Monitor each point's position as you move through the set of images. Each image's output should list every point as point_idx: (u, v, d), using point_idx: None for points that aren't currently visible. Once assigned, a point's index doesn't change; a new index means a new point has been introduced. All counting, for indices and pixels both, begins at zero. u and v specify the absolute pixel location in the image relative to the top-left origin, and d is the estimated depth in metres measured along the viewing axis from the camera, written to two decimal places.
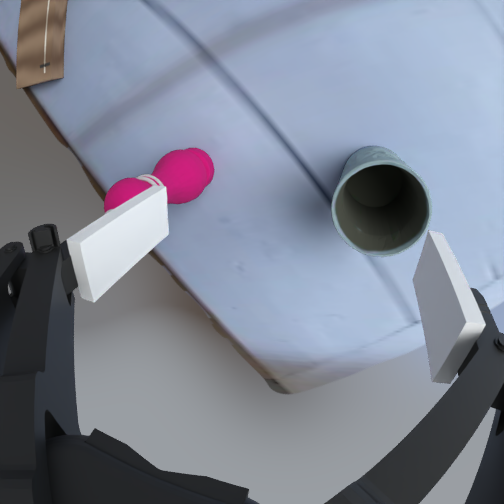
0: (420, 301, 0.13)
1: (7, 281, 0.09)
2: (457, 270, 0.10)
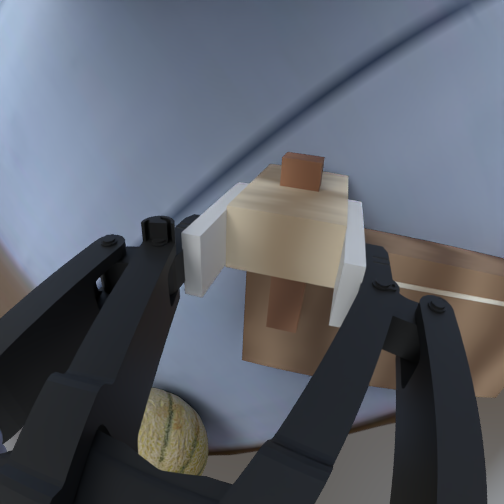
0: None
1: (94, 279, 0.10)
2: (359, 228, 0.13)
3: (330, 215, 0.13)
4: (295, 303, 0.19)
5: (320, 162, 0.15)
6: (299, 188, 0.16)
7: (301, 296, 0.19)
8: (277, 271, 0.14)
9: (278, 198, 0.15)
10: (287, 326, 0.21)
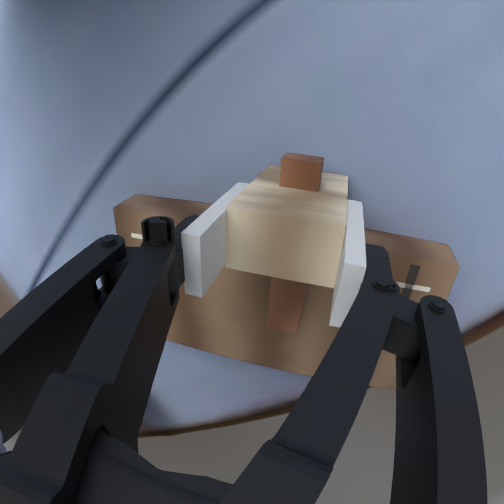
0: None
1: (94, 279, 0.10)
2: (359, 228, 0.13)
3: (329, 215, 0.13)
4: (295, 304, 0.19)
5: (319, 162, 0.15)
6: (298, 188, 0.16)
7: (301, 297, 0.19)
8: (277, 271, 0.14)
9: (277, 199, 0.15)
10: (287, 327, 0.20)
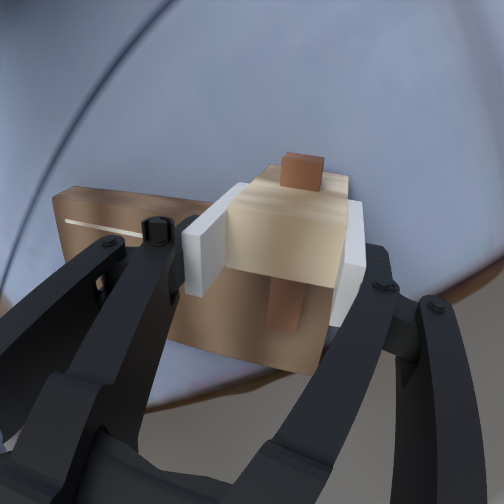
0: None
1: (94, 279, 0.10)
2: (358, 227, 0.13)
3: (330, 215, 0.13)
4: (295, 303, 0.19)
5: (320, 162, 0.15)
6: (299, 188, 0.16)
7: (301, 296, 0.19)
8: (277, 271, 0.14)
9: (278, 198, 0.15)
10: (287, 326, 0.21)
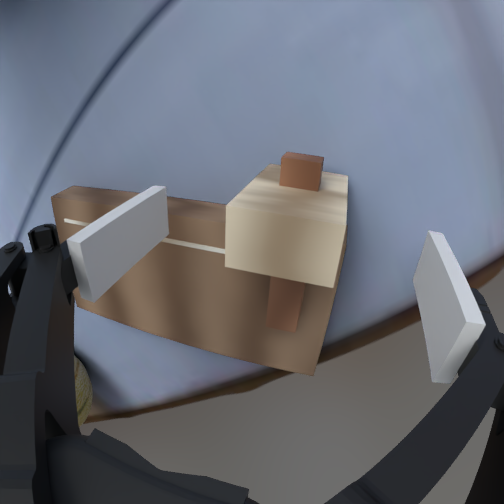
0: (420, 301, 0.13)
1: (7, 281, 0.09)
2: (457, 270, 0.10)
3: (329, 215, 0.13)
4: (294, 303, 0.19)
5: (319, 162, 0.15)
6: (298, 188, 0.16)
7: (300, 296, 0.19)
8: (276, 270, 0.14)
9: (277, 198, 0.15)
10: (286, 326, 0.21)
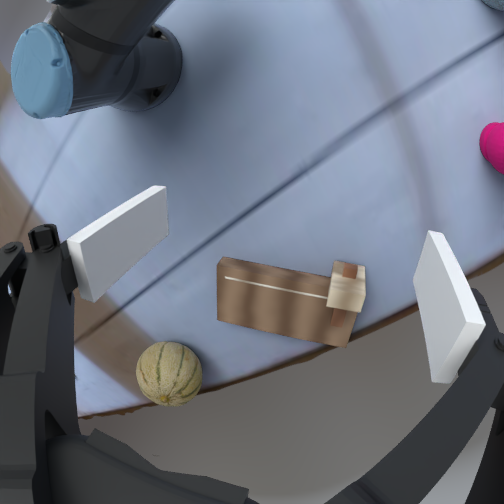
0: (420, 302, 0.13)
1: (7, 281, 0.09)
2: (457, 270, 0.10)
3: (360, 291, 0.43)
4: (343, 316, 0.49)
5: (357, 269, 0.45)
6: (348, 277, 0.46)
7: (345, 313, 0.49)
8: (343, 307, 0.44)
9: (343, 284, 0.44)
10: (338, 325, 0.50)
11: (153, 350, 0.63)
